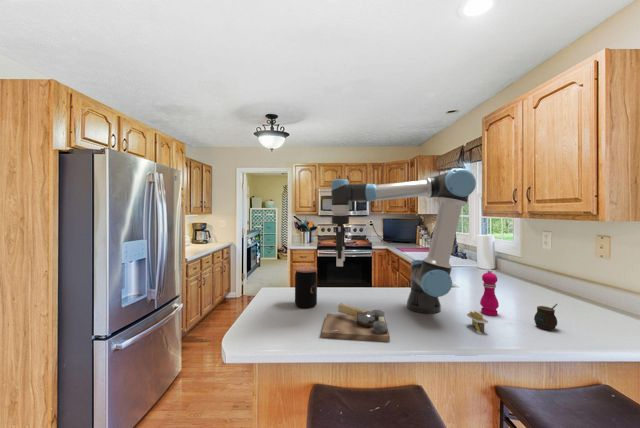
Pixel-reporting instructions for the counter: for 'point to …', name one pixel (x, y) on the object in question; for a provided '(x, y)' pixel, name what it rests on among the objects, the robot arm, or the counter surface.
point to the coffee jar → (305, 287)
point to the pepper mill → (489, 294)
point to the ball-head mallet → (358, 315)
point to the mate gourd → (545, 317)
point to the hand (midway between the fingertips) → (340, 263)
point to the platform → (477, 320)
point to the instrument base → (355, 328)
